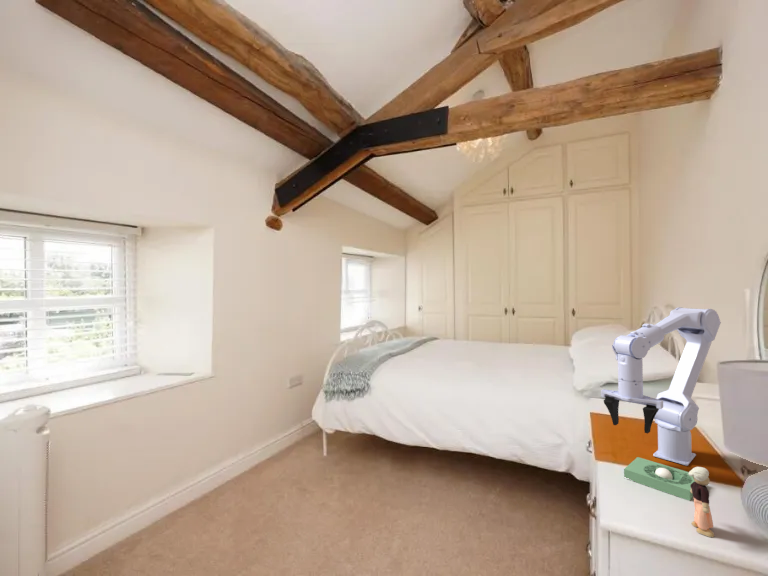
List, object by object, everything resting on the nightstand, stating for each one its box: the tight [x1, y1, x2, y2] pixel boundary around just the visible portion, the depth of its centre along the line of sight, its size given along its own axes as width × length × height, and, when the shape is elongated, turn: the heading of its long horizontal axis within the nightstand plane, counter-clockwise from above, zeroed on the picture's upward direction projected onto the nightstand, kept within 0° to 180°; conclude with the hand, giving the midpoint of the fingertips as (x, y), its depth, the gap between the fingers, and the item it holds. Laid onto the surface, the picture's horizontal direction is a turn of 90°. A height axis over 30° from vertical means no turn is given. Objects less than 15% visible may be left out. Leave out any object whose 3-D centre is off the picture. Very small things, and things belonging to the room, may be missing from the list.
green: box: [623, 456, 695, 502], centre depth 95 cm, size 10×14×2 cm
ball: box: [655, 468, 673, 480], centre depth 94 cm, size 4×4×4 cm
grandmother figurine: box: [688, 466, 715, 538], centre depth 77 cm, size 8×4×13 cm, turn 168°
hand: (631, 428), depth 103 cm, fingers open, 7 cm apart
